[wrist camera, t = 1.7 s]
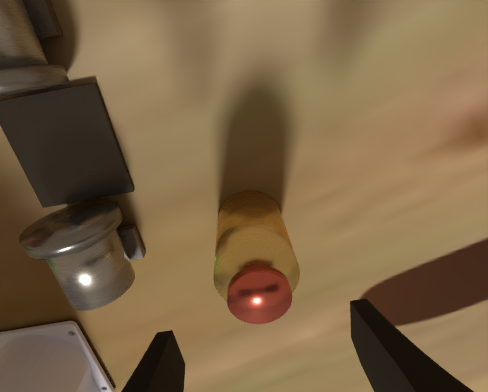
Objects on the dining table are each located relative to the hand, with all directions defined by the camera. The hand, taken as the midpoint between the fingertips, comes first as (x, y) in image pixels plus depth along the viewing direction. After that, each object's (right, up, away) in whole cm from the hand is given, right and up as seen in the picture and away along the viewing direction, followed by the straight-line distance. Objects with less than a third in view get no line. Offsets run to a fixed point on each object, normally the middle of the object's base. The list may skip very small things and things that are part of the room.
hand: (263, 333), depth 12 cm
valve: (0, +4, +9) cm, 9 cm away
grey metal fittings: (-11, +8, +6) cm, 15 cm away
